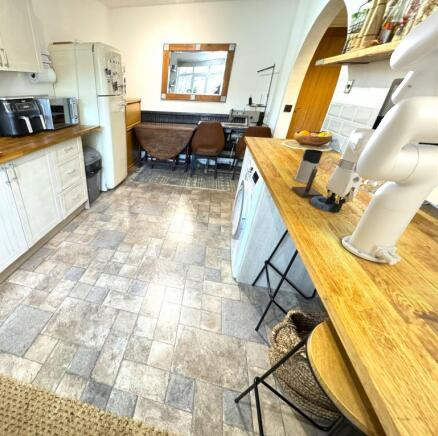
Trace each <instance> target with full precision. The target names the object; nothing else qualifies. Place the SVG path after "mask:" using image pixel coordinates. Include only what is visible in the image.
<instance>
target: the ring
mask: <svg viewBox="0 0 438 436" xmlns="http://www.w3.org/2000/svg"><path fill="white" fill-rule="evenodd" d="M326 200H327V196H324V195H323V196H315V197H313V198H311V199H310V205H311V206H313V207H314V208H317V209H319V210H322V211H327V212H331V211H330V210H331V208H332V206H333V205H329V204H325V202H326ZM335 203H336V201H335Z"/></svg>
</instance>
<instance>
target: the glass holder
mask: <svg viewBox="0 0 438 436" xmlns="http://www.w3.org/2000/svg"><path fill="white" fill-rule="evenodd" d="M323 153H324V152H323V151H322V150H319V149H313V148H306V149H305V150H304V152H303V154H302V157H301V160H300V162H299V165H298V169H297V172H296V175H295V176H294V177H293V180H294V181H297V182H299V183H302V184H303V183H304V184H307V182H308V180H309V177H310V174H311V172H312V169H317V170H318V167H319V165H320V166H321V165H323V164H324V162H325V161H326V159H331V160H332V163H331V166H330V167H329V168H328V169H327V170H326V171H324V172H322V173H320V174H316V176H315V178H316V177H318V176H321V175H324V174H326V173H328V172H329V171H330V170H331V169H332V167H333V166H334V164H335V159H334V158H333V157H331V156H327V157H325V158H324V159H323V160H322V163H320V161H321V158H322V156H323Z"/></svg>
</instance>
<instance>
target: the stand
mask: <svg viewBox="0 0 438 436" xmlns="http://www.w3.org/2000/svg"><path fill="white" fill-rule="evenodd" d="M318 171H319V169H318V168H317V169H312V172H311V174H310V177H309V180H308V182H307V183H306V186H292V187H291V191H293V192H294V193H295V194H296V195H298V196H299V197H300V198H302V199H303V198H304V199H305V198H306V199H308V198H309V199H312V198H313V197H315V196H322V197H323V196H324V194H323V193H321V192H319V190H317V189H315V187H312V186H313V184H314V181H315V179H316V177H317V173H318ZM315 176H316V177H315Z"/></svg>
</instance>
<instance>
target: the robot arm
mask: <svg viewBox="0 0 438 436" xmlns="http://www.w3.org/2000/svg"><path fill="white" fill-rule="evenodd" d="M389 66H390V68H391V70H392V71H396V72H408V74H406V76H405V77H404V79H403V80H402V82H401V83H400V84H399V86H398V87H397V88H396V90H395V91H394V93H392V95H391V102H392V104H393V105H394V106H392V107H391V108H390V109H389V110H388V111H387V113H386V114H385V115H384V117H383V118H382V119H381V120H380V121H381V122H380V123H379V125H378V126H377V128H376V129H373V128H366V127H365V128H364V127H359V128H355V129H354V130H352V132H351V133H350V136H349V137H348V140H347V143H346V145H345V147H344V150H343V152H342V154H341V156H340V159H339V161H338V164H337V166H336V167H335V169H334V170H333V171H332V173H331V175H330V177H329V180H328V182H327V185H326V186H325V189H326V192H327V195H326V197H327V200H326V202H325V203H324V204H329V205H333V206H332V208H331V210H330V211H329V212H330V213H340V211H341V209H342V207H343V205H345V204H346V203H352V202H353V201H354V198H355V197H357V194H358V191H360V187H361V186H362V185H361V183H363V182H362V181H363V179H364V180H375V181H382V182H385V183H383V184H381V187H380V188H379V189H378V190H377V191H376V192H375V191H374V194H373V195H372V197H371V199H370V201H369V203H368V204H367V206H366V208H365V210H364V211H363V214H362V216H361V218H360V219H359V221H358V223H357V225H356V227H355V229H354V231H353V233H352V234H349V235H345V236H344V237H343V238H342V240H341V243H342V246H343V247H344V249H346V250H347V251H348V252H350V253H352V254H353V255H355V256H357V257H359V258H361V259H364V260H367V261H370V262H375V263H381V264H383V263H387V264H389V265H390V266H394V265H396V264H398V262H400V261H402V259H403V258H402V257H401V256H399V255H398V254H396V251H397V250H398V246H397V245H396V244H397V242H398V241H399V239H400V238H401V236H402V235H403V233H404V232H405V230H406V229H407V227H408V226H409V224H410V223H411V221H412V220H413V218H414V216H416V214H417V212H418V211H419V210H420V208H421V206H422V205H423V204H424V202H425V201H426V199H427V198H428V197H429V195H430V194H431V193H432V192H433V191H434V190H435V189H436V187H438V145H435V144H438V8H437V9H435V10H434V11H433V12H432V13H431V14H429V15H428V16H427V17H425V18H424V19H423V20H422V21H421V22H419V23H418V24H417V25H416V26H415V27H413V28H412V29H411V30H410V31H409V32H408V33H407V34H406V35H405V36H404V37H403V38H402V40H401V41H400V42H399V43H398V45H397V46H396V48H395V49H394V51H393V52H392V55H391V56H390V60H389ZM420 143H421V144H420ZM335 201H336V203H335Z"/></svg>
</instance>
